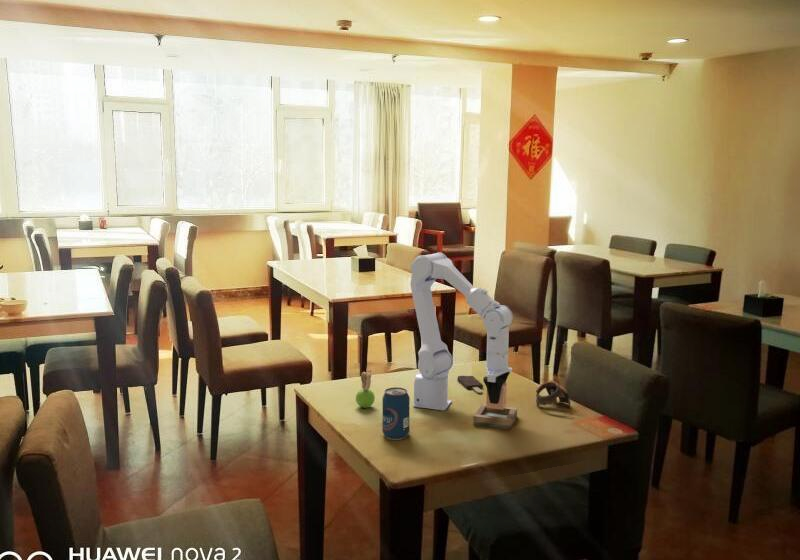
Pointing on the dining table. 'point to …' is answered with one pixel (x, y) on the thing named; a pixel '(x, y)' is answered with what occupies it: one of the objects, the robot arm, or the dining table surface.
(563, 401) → the dark looped band sculpture
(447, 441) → the dining table surface
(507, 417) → the walnut base
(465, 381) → the ice cream bar
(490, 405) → the terracotta block
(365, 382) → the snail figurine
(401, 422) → the soda can
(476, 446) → the dining table surface
